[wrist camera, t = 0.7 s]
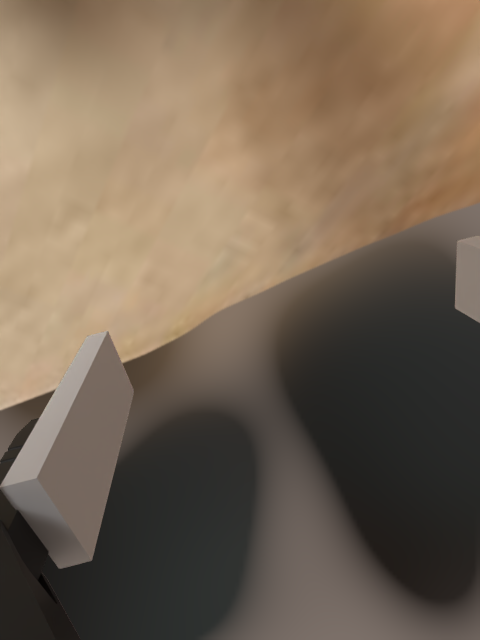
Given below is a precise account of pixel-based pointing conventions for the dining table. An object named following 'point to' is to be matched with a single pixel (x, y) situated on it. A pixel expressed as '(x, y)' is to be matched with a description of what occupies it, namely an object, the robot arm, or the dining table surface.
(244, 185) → the dining table surface
